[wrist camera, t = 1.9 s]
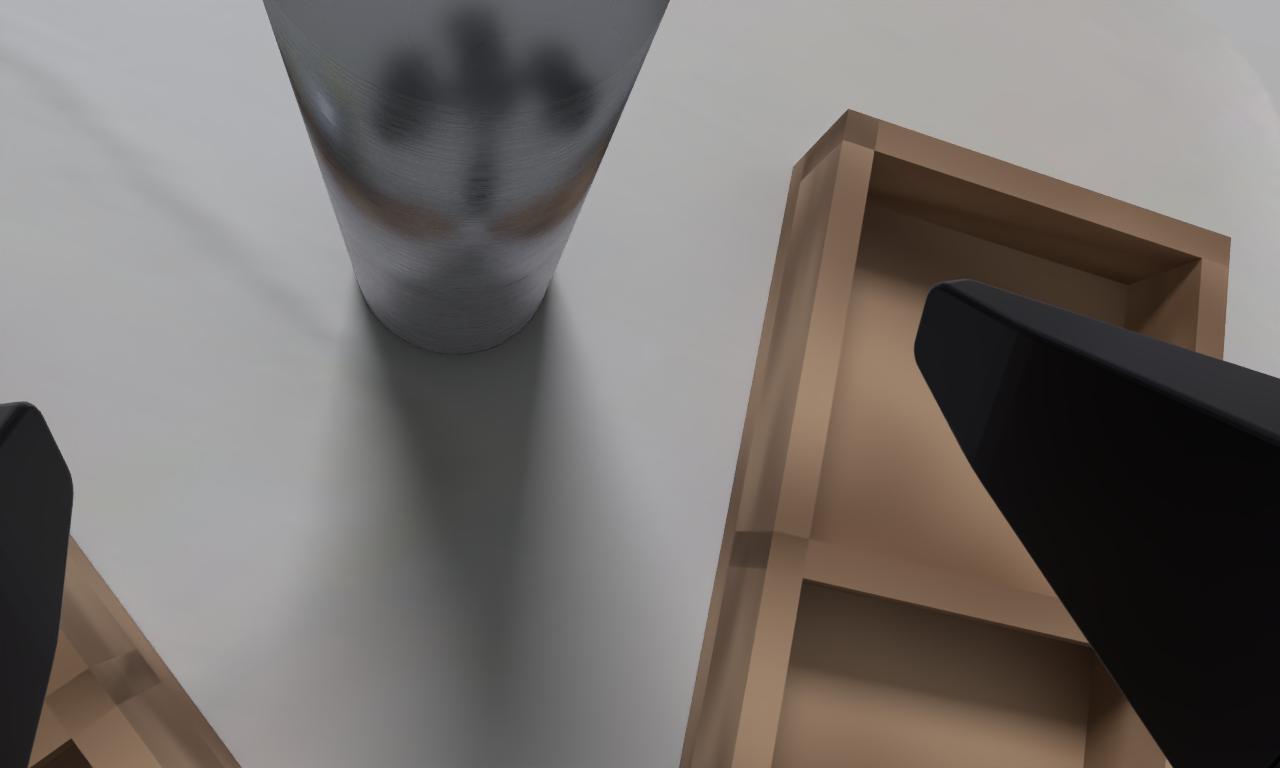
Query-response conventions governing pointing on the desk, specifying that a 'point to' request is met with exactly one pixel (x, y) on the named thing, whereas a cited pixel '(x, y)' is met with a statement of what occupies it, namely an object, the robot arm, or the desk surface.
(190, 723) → the brown shallow tray
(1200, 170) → the desk surface
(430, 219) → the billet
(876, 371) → the wooden divided tray
